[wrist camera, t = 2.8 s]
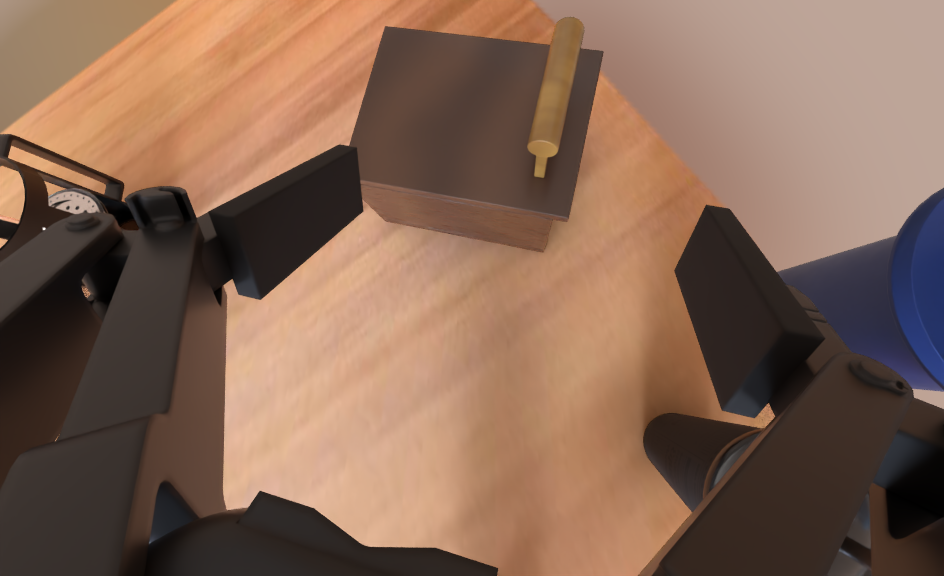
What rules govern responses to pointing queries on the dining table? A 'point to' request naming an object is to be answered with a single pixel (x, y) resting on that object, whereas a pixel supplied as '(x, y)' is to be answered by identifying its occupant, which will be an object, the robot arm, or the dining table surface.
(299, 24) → the dining table surface
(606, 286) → the dining table surface
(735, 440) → the drinking cup
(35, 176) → the french press
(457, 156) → the chest door
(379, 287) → the dining table surface
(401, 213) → the chest
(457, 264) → the dining table surface
